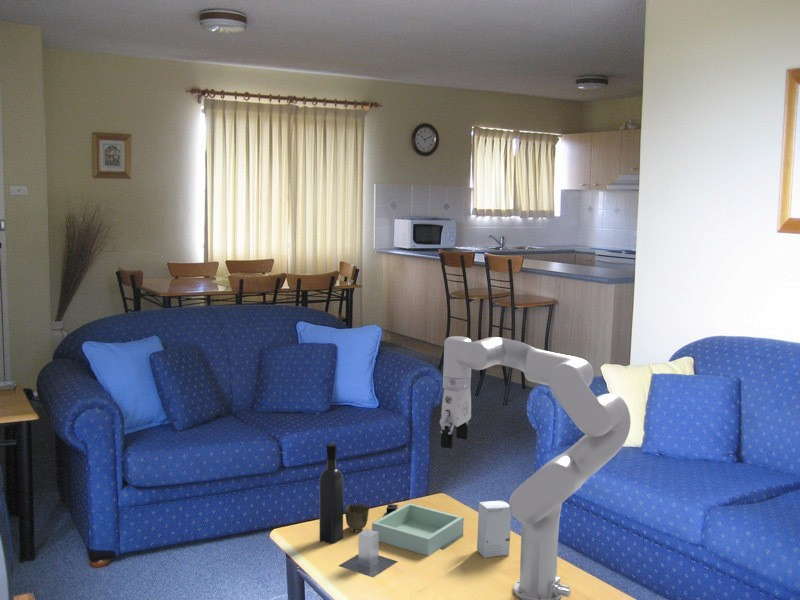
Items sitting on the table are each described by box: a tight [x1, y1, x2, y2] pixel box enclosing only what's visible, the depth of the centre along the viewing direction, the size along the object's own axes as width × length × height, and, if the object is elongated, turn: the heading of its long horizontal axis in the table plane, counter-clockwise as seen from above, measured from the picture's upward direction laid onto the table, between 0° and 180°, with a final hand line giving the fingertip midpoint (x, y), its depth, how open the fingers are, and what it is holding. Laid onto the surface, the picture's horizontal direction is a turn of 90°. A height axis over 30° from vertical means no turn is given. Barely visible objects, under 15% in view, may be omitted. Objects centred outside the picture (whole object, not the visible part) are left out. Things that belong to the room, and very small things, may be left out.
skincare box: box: [476, 500, 512, 559], centre depth 240 cm, size 8×6×15 cm
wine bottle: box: [318, 443, 344, 544], centre depth 245 cm, size 6×6×30 cm
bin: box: [371, 502, 465, 557], centre depth 249 cm, size 20×20×6 cm
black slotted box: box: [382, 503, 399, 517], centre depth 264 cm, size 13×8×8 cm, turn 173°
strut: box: [358, 528, 380, 568], centre depth 229 cm, size 4×4×9 cm
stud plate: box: [338, 553, 399, 578], centre depth 230 cm, size 12×12×5 cm
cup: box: [344, 503, 370, 533], centre depth 253 cm, size 8×7×8 cm
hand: (454, 443), depth 226 cm, fingers open, 9 cm apart
